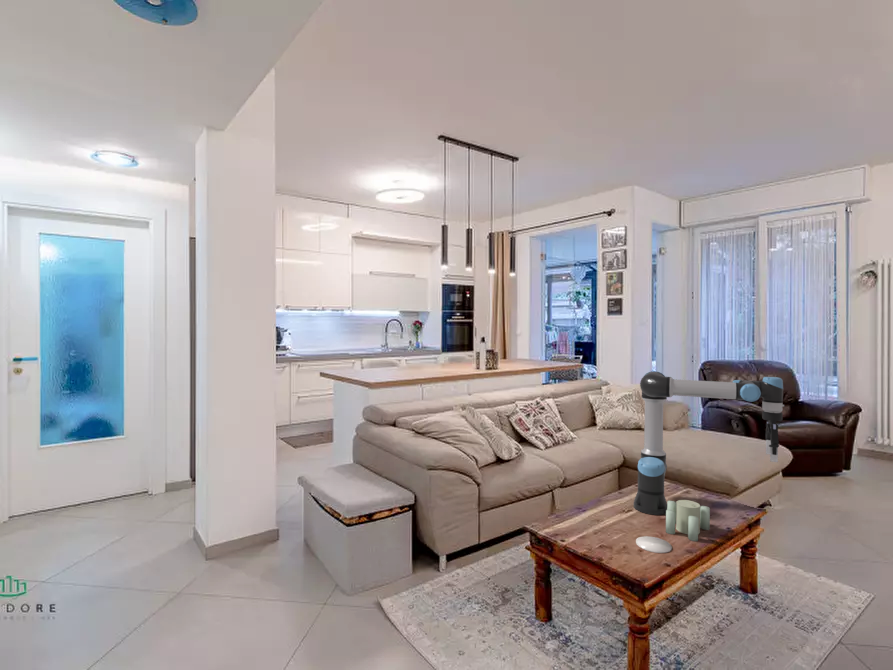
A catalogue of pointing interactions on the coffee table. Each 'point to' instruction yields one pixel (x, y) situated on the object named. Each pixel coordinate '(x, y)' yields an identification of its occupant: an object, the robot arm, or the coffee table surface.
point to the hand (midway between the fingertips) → (771, 457)
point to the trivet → (653, 544)
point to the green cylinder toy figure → (686, 514)
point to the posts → (691, 520)
